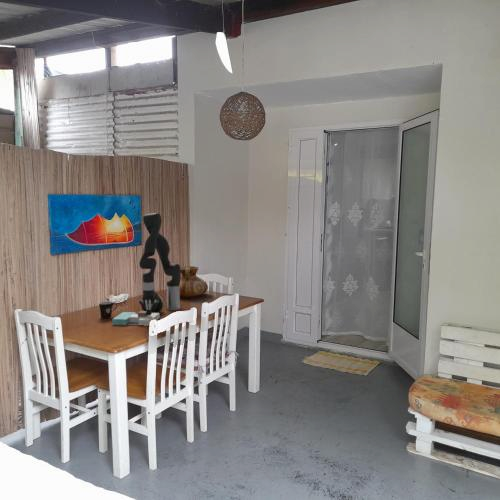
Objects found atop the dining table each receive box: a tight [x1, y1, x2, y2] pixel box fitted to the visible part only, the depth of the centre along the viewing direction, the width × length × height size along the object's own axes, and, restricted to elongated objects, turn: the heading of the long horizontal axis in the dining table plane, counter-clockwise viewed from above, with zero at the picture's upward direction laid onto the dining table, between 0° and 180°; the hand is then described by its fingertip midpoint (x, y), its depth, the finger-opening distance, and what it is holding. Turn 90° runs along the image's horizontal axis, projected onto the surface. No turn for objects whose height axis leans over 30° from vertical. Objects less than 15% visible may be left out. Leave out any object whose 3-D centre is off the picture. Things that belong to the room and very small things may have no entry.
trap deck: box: [112, 311, 161, 327], centre depth 293 cm, size 18×25×4 cm
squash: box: [141, 292, 164, 313], centre depth 316 cm, size 14×15×15 cm
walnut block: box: [137, 310, 147, 317], centre depth 292 cm, size 5×5×2 cm
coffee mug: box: [98, 300, 118, 320], centre depth 303 cm, size 12×9×10 cm
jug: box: [180, 265, 209, 299], centre depth 370 cm, size 30×30×25 cm
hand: (149, 315), depth 292 cm, fingers closed
